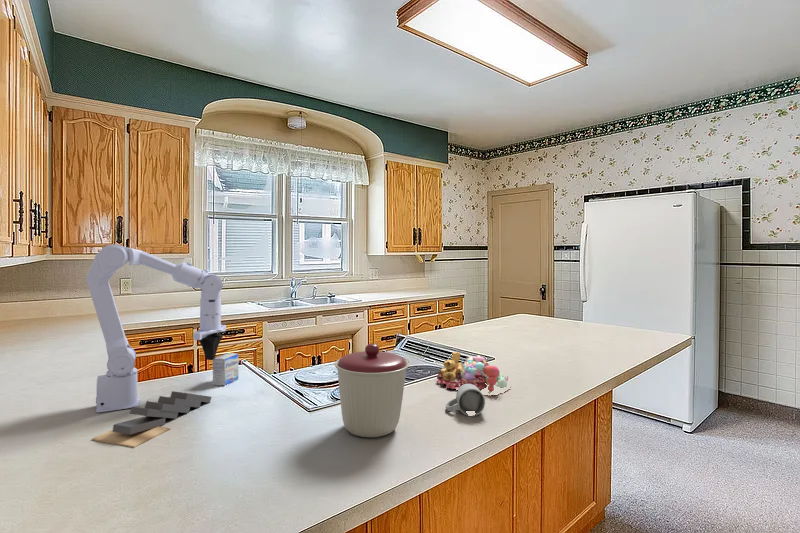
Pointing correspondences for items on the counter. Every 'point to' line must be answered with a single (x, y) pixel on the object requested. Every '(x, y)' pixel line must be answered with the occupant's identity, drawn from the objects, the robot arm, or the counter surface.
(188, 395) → the domino
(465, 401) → the ceramic mug
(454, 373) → the candy landscape model
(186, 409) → the domino
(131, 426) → the domino
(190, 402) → the domino
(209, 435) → the counter surface
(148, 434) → the cork pad
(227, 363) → the medicine box
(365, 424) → the canister
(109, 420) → the counter surface
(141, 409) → the domino
